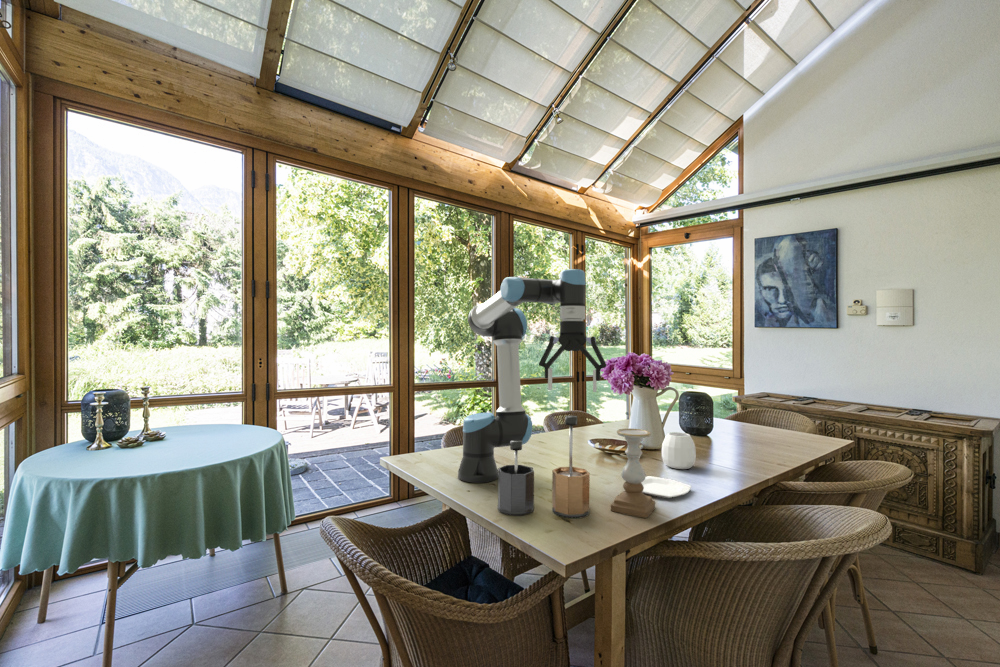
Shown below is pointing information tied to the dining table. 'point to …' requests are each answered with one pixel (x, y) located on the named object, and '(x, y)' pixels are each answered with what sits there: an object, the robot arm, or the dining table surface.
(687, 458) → the cup
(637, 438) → the candle holder
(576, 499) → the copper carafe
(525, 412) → the robot arm
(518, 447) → the steel plunger
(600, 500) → the dining table surface
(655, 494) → the plate
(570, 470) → the copper plunger
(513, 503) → the steel carafe
